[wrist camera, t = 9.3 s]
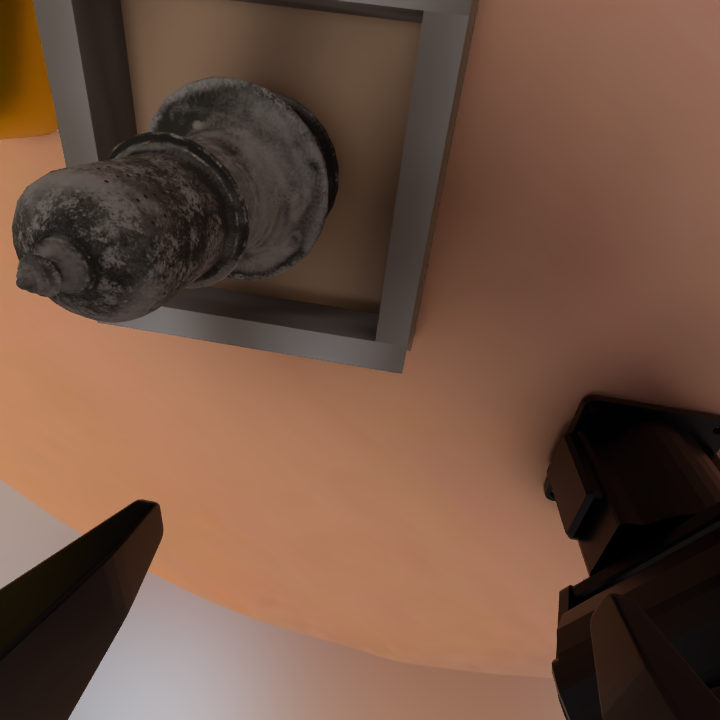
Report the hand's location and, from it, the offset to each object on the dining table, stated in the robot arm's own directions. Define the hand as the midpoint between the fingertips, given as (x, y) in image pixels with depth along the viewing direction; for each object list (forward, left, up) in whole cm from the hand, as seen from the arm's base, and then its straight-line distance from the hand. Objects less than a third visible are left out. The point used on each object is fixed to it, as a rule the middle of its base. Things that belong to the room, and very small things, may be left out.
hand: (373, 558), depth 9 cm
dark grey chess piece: (+6, -5, -12) cm, 14 cm away
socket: (+6, -5, -13) cm, 15 cm away
